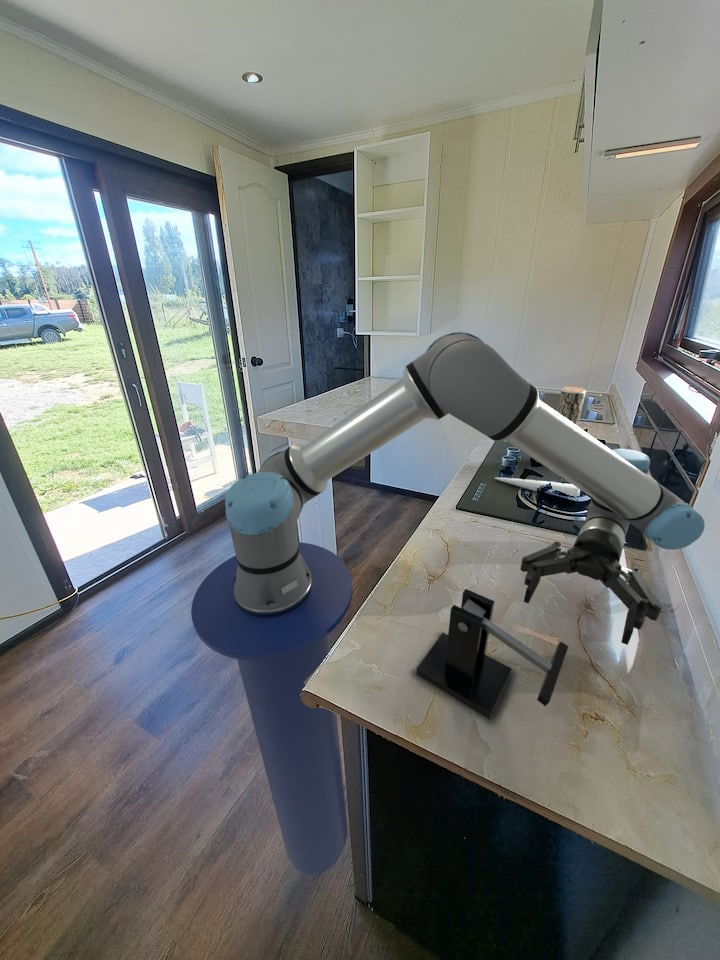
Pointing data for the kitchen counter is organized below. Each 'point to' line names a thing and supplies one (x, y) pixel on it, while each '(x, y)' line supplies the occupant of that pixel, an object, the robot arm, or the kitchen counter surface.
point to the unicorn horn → (533, 485)
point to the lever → (526, 652)
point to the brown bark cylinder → (571, 403)
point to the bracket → (466, 659)
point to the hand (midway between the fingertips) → (573, 615)
